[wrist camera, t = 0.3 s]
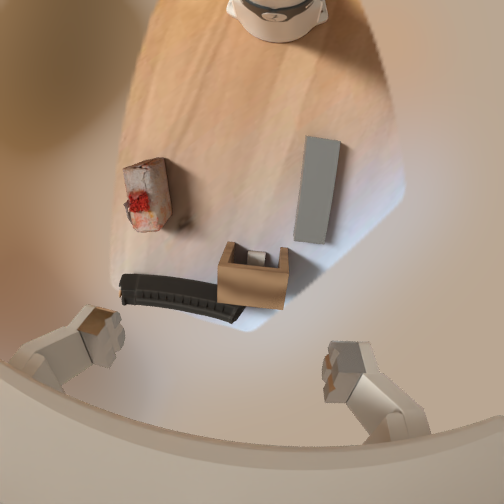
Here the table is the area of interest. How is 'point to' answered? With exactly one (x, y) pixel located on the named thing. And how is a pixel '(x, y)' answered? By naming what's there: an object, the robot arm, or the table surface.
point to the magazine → (176, 295)
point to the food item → (147, 195)
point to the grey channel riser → (316, 189)
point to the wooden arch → (252, 280)
